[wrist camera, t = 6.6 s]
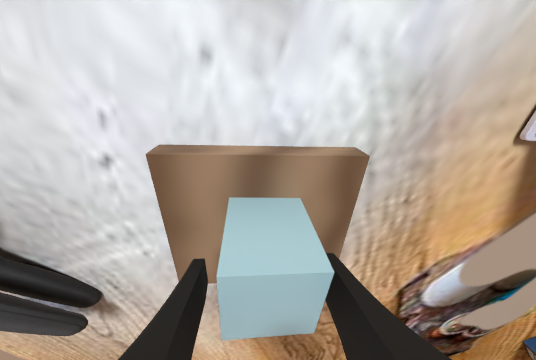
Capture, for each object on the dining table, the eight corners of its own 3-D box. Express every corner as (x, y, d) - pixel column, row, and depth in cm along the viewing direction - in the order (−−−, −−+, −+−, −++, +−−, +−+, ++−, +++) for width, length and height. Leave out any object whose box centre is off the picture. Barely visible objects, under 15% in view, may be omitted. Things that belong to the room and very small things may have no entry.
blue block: (300, 198, 14) (334, 272, 8) (291, 248, 16) (314, 333, 10) (229, 197, 13) (216, 276, 8) (230, 250, 15) (221, 340, 10)
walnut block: (351, 145, 15) (369, 156, 13) (324, 254, 20) (333, 275, 18) (162, 142, 13) (145, 154, 11) (187, 261, 19) (179, 285, 16)
